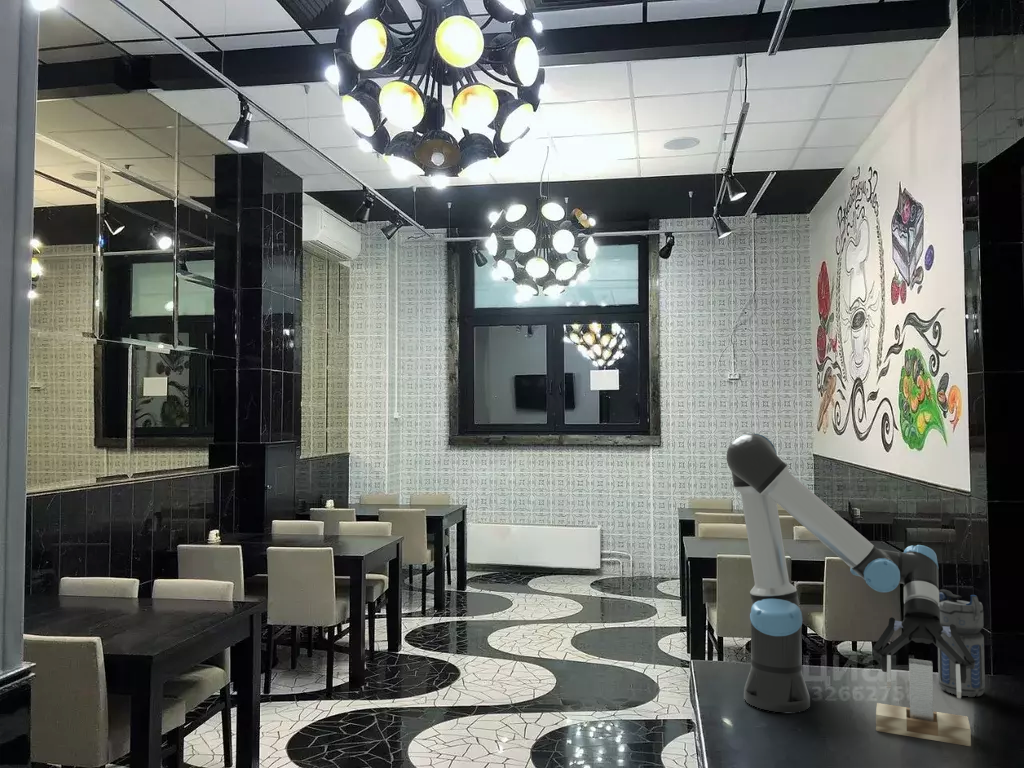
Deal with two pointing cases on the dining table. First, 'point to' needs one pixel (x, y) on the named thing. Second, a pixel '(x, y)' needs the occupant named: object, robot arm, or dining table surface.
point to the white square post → (921, 689)
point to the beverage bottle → (968, 629)
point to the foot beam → (923, 725)
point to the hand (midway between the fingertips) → (923, 690)
